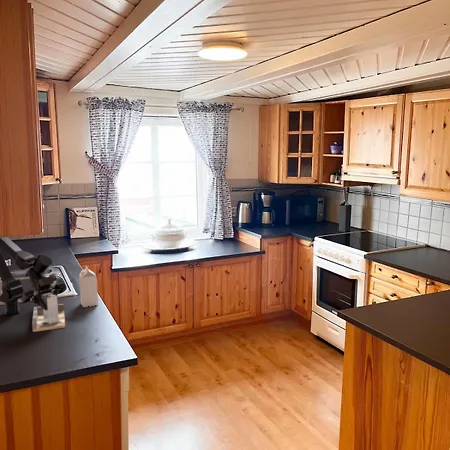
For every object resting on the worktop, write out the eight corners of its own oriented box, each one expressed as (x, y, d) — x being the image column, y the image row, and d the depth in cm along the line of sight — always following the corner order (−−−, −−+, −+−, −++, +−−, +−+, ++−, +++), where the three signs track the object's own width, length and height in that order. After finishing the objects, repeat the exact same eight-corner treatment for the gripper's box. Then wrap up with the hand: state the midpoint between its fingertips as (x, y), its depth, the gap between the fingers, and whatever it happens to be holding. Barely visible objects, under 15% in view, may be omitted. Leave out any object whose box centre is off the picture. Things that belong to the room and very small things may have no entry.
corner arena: (34, 315, 212) (33, 307, 211) (64, 311, 216) (63, 303, 215) (32, 331, 193) (32, 322, 192) (65, 327, 198) (64, 318, 197)
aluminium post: (44, 322, 200) (42, 296, 198) (53, 319, 203) (51, 293, 201) (49, 324, 197) (47, 298, 195) (58, 321, 200) (56, 295, 198)
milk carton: (95, 301, 230) (93, 264, 227) (98, 305, 224) (96, 268, 221) (80, 303, 227) (78, 266, 224) (83, 307, 221) (80, 270, 218)
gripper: (21, 273, 192) (36, 304, 186) (62, 264, 205) (77, 293, 200) (15, 287, 198) (29, 318, 193) (55, 278, 212) (69, 306, 207)
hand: (51, 308), depth 198 cm, fingers closed on aluminium post, 4 cm apart
